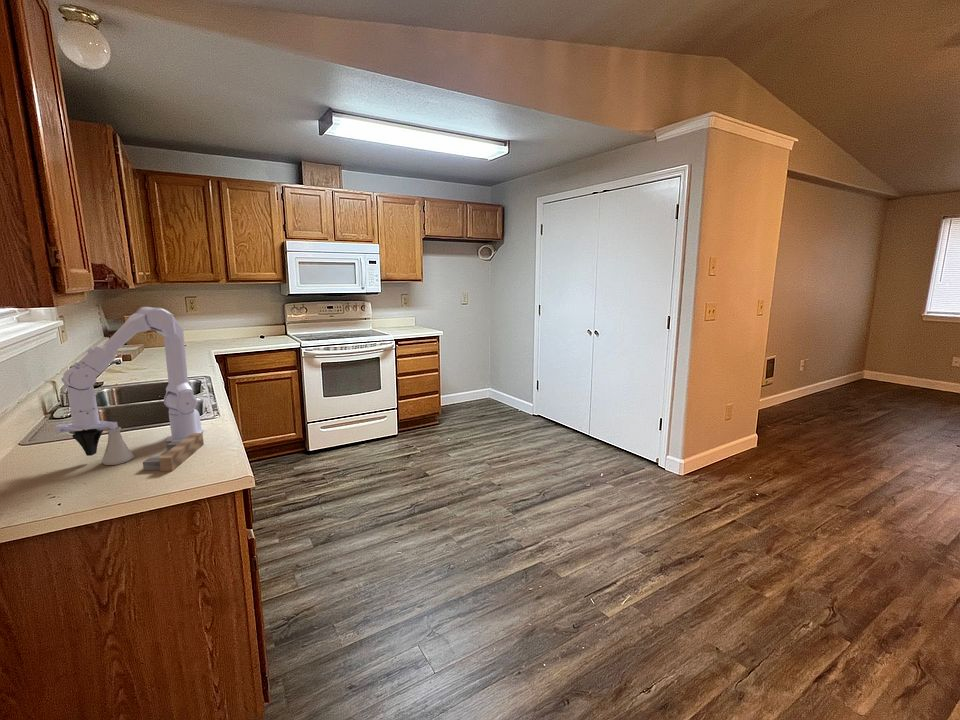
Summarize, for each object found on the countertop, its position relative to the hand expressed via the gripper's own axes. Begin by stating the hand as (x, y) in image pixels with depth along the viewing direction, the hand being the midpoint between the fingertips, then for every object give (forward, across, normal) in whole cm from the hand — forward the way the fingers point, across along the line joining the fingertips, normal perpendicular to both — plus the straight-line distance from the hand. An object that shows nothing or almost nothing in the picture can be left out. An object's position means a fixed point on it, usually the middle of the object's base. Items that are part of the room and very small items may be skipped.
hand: (91, 454), depth 129 cm
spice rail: (+2, +22, 0) cm, 22 cm away
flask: (+3, +7, 0) cm, 7 cm away
